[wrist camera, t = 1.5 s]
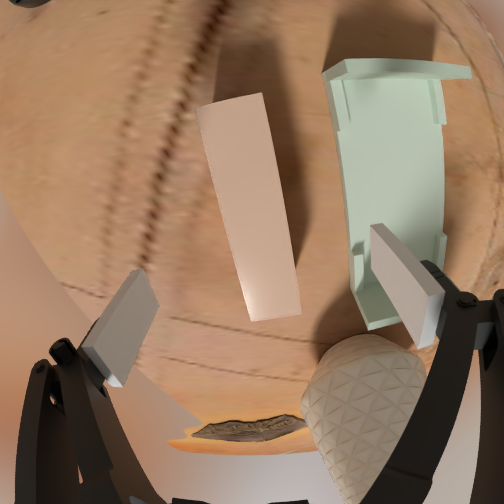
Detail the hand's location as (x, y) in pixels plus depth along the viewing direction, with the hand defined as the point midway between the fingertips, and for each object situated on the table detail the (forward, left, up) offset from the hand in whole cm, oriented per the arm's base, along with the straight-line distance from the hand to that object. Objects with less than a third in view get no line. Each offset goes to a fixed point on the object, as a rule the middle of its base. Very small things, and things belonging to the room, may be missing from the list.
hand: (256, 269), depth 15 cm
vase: (+26, +9, -13) cm, 30 cm away
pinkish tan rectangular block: (0, 0, -13) cm, 13 cm away
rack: (+1, +14, -13) cm, 19 cm away
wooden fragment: (+45, -12, -13) cm, 48 cm away
